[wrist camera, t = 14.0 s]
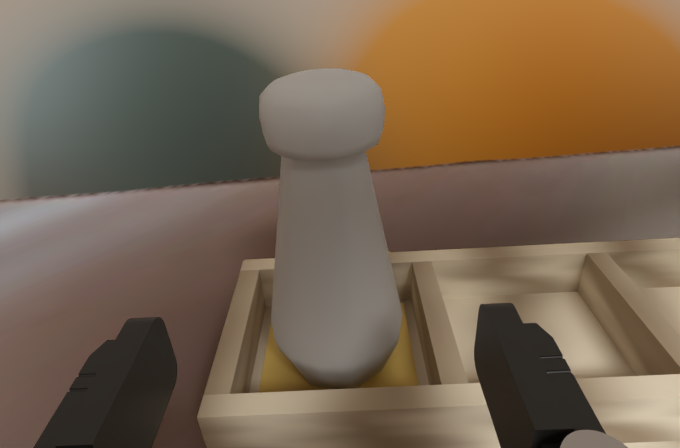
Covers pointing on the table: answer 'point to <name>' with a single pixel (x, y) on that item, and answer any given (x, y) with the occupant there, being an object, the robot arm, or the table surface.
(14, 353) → the table surface
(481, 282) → the tray
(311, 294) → the salt shaker
